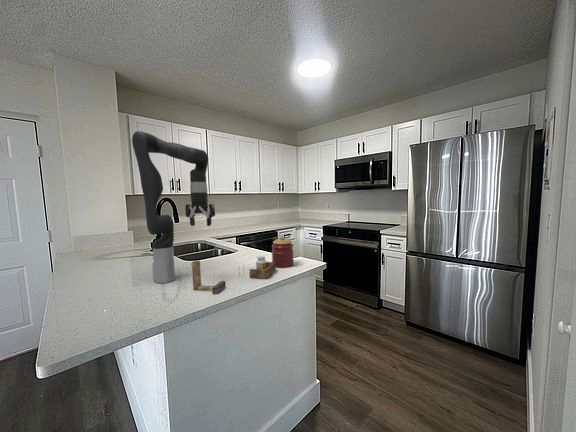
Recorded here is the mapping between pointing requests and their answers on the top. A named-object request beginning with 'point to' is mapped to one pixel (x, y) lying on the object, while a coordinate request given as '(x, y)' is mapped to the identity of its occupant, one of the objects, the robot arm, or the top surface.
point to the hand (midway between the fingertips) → (200, 225)
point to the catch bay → (263, 271)
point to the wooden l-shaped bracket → (197, 280)
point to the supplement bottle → (261, 262)
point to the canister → (282, 252)
